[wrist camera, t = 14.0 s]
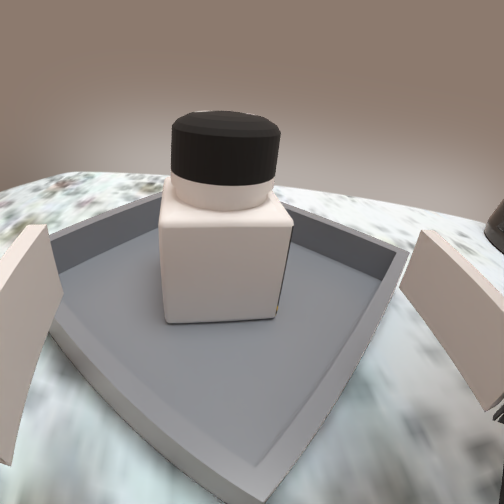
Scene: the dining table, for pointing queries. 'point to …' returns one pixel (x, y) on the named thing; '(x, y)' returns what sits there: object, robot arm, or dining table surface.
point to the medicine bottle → (222, 220)
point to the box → (220, 345)
